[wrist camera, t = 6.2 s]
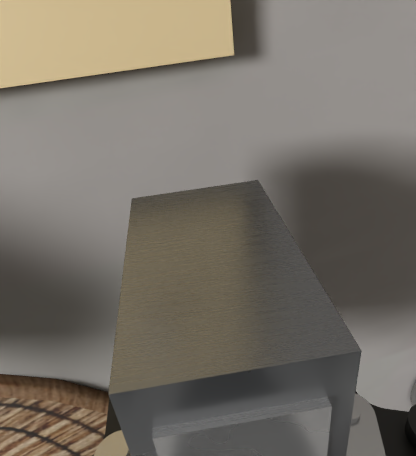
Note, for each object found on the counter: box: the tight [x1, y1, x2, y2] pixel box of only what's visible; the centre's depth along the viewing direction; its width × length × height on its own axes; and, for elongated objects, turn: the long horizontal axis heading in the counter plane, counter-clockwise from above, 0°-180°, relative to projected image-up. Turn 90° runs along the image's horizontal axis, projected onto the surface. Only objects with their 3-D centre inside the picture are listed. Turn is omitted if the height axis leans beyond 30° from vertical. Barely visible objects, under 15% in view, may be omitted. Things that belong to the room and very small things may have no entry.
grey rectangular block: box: [108, 180, 361, 456], centre depth 11 cm, size 4×10×7 cm, turn 6°
